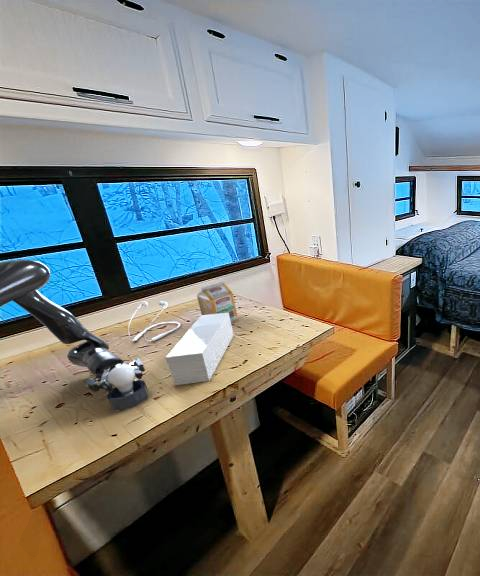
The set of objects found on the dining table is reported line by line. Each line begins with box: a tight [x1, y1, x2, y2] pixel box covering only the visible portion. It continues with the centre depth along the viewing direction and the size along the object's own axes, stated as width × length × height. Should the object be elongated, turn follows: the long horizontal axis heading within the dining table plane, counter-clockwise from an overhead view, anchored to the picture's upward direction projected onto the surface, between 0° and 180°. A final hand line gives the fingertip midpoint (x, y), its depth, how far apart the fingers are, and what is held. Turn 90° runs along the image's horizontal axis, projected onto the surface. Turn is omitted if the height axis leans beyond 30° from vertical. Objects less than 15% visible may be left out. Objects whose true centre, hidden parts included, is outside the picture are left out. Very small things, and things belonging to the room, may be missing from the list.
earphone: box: [127, 300, 181, 343], centre depth 134 cm, size 14×17×18 cm
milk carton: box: [196, 280, 239, 324], centre depth 140 cm, size 11×11×19 cm
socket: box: [106, 379, 150, 412], centre depth 93 cm, size 9×9×4 cm
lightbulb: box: [107, 365, 136, 397], centre depth 91 cm, size 6×6×11 cm
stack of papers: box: [165, 313, 235, 386], centre depth 113 cm, size 32×11×11 cm, turn 12°
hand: (126, 382), depth 90 cm, fingers closed on lightbulb, 6 cm apart
